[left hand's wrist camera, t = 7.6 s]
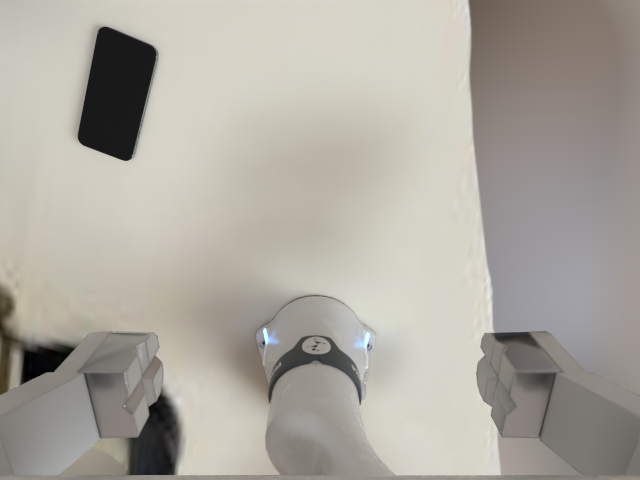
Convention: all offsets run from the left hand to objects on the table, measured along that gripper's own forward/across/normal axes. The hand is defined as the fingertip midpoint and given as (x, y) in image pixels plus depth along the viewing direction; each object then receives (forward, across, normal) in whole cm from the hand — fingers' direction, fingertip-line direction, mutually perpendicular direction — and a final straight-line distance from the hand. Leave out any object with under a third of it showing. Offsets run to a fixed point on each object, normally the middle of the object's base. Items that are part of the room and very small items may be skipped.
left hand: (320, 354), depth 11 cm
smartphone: (+48, -26, +4) cm, 54 cm away
